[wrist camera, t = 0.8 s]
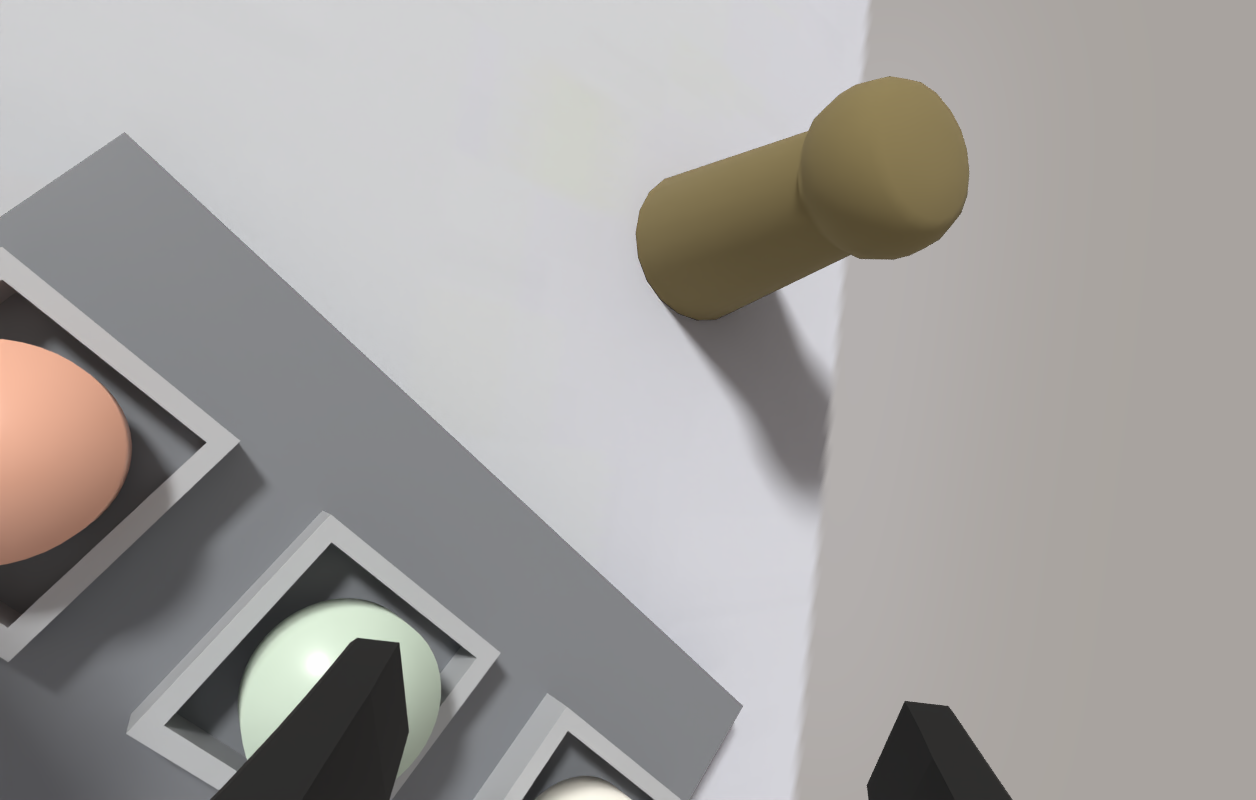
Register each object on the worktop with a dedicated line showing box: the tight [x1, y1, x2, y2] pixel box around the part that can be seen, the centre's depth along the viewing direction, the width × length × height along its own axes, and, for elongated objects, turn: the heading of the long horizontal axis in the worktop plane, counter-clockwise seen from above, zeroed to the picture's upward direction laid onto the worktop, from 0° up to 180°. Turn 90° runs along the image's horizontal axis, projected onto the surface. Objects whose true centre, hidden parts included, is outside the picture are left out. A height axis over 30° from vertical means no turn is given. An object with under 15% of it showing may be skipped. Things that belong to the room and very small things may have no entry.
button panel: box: [0, 132, 743, 800], centre depth 20 cm, size 14×26×3 cm, turn 49°
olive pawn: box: [636, 76, 969, 320], centre depth 25 cm, size 6×6×11 cm
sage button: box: [238, 598, 441, 779], centre depth 18 cm, size 4×4×2 cm
